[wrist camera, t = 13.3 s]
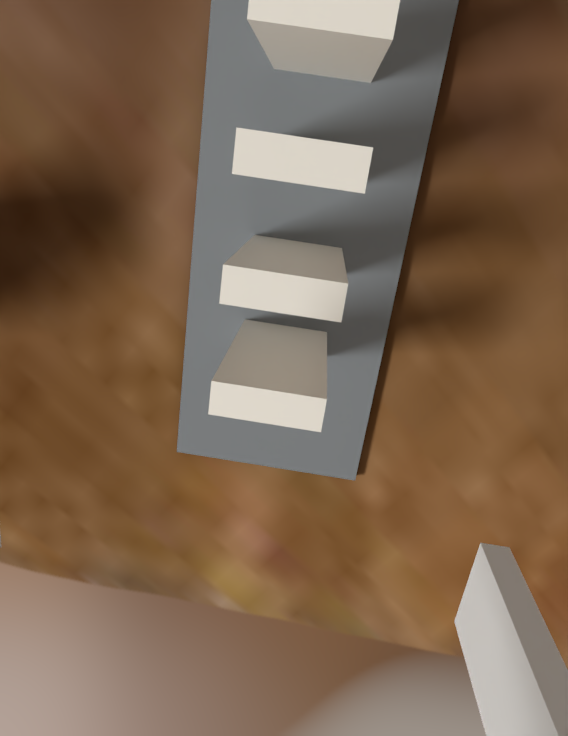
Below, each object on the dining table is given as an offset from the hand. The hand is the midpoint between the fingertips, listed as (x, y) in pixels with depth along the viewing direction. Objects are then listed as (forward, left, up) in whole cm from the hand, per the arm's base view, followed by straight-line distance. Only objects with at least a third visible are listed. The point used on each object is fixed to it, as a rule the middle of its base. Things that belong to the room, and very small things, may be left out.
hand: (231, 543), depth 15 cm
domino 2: (-10, 0, -19) cm, 22 cm away
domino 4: (0, 0, -19) cm, 19 cm away
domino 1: (-15, 0, -19) cm, 24 cm away
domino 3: (-5, 0, -19) cm, 20 cm away
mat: (-8, 0, -20) cm, 21 cm away
